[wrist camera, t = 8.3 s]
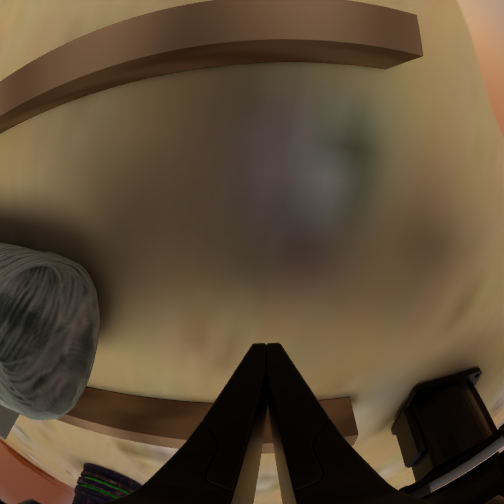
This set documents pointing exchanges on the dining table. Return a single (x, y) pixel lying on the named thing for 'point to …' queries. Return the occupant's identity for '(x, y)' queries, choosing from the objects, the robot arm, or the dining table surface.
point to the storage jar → (102, 485)
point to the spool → (45, 331)
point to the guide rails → (187, 58)
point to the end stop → (6, 420)
